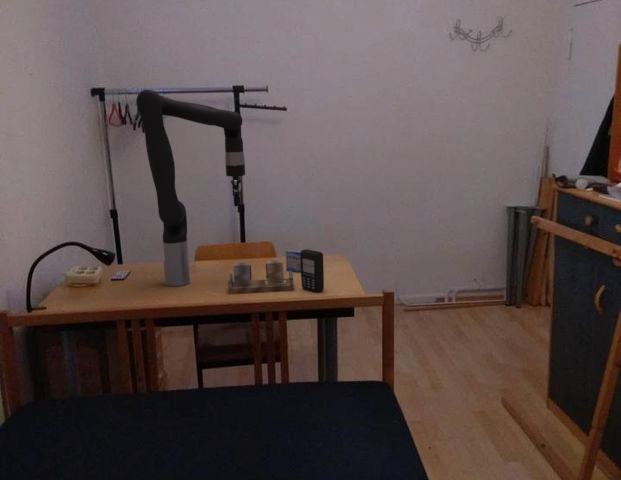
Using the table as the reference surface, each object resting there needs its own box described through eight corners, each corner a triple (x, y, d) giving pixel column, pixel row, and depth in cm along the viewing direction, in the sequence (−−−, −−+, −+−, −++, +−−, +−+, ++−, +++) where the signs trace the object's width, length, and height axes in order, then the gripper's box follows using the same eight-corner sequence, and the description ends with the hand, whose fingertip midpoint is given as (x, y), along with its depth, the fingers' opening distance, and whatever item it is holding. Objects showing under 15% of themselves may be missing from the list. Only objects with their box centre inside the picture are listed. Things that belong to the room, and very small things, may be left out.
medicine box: (286, 271, 249) (285, 251, 247) (291, 268, 253) (290, 248, 251) (302, 272, 245) (301, 252, 243) (307, 270, 249) (306, 250, 247)
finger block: (266, 284, 223) (265, 263, 221) (266, 281, 227) (265, 261, 225) (283, 283, 223) (282, 262, 222) (283, 280, 227) (282, 260, 225)
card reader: (300, 288, 223) (298, 250, 220) (307, 286, 226) (306, 248, 222) (317, 293, 216) (316, 253, 213) (324, 291, 219) (323, 251, 216)
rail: (229, 294, 219) (227, 268, 217) (230, 286, 229) (228, 261, 227) (293, 290, 221) (292, 264, 219) (292, 283, 231) (291, 258, 229)
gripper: (226, 162, 238) (228, 202, 242) (224, 165, 224) (227, 207, 228) (245, 161, 239) (247, 201, 242) (244, 164, 225) (246, 206, 228)
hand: (237, 204), depth 235 cm, fingers open, 8 cm apart
